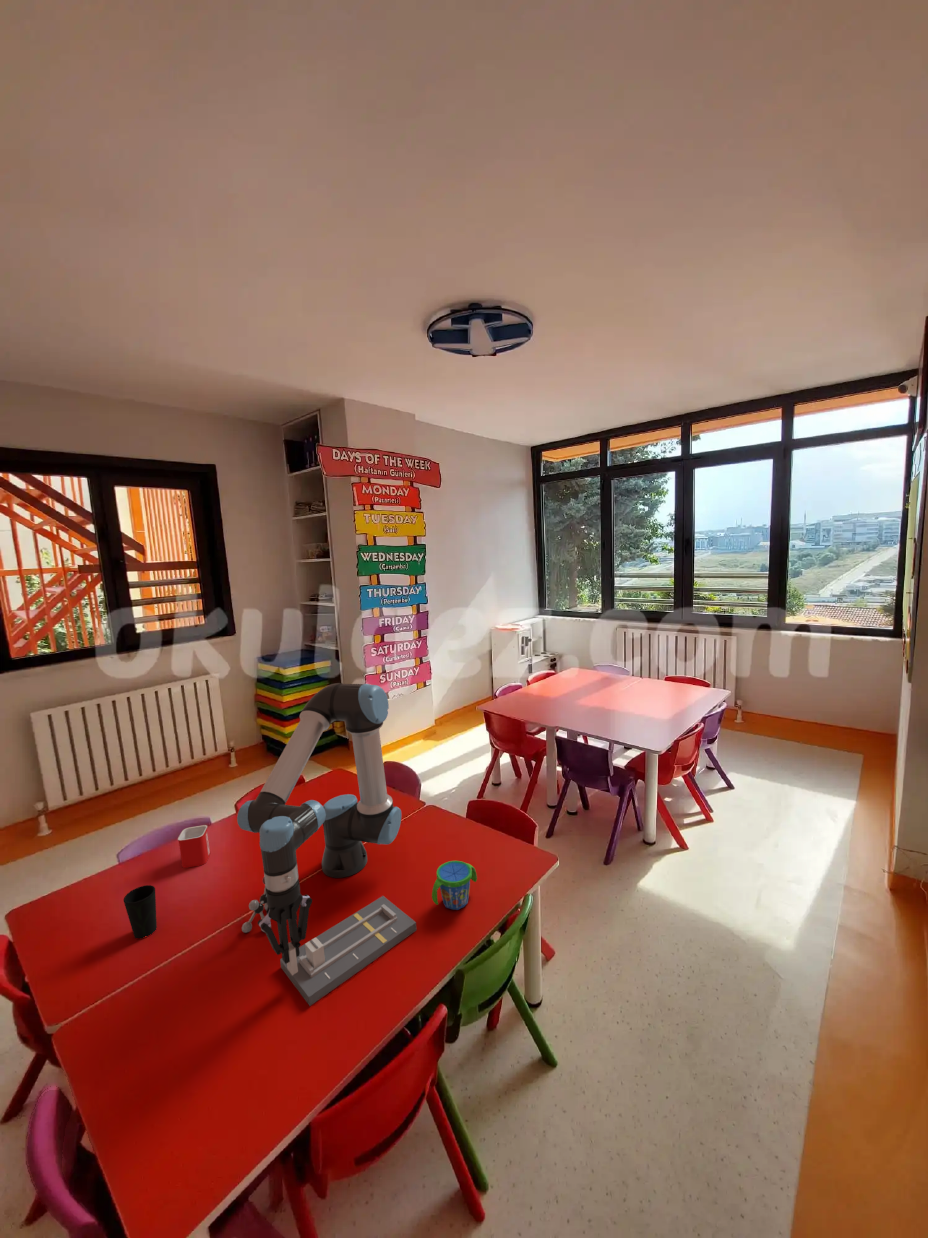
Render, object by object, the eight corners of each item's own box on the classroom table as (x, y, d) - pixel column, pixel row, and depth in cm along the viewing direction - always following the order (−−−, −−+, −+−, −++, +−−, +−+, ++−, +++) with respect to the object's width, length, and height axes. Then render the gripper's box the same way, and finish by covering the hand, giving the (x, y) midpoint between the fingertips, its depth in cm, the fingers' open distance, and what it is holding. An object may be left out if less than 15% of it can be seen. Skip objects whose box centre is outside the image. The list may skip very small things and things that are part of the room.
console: (280, 967, 129) (279, 953, 129) (383, 903, 151) (382, 891, 150) (309, 1006, 118) (308, 991, 117) (416, 930, 139) (415, 917, 139)
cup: (167, 924, 147) (161, 887, 145) (143, 944, 140) (136, 905, 138) (147, 919, 149) (142, 883, 148) (123, 939, 142) (116, 900, 141)
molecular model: (240, 935, 141) (236, 901, 140) (259, 905, 153) (255, 873, 152) (269, 934, 141) (264, 900, 139) (285, 904, 153) (281, 872, 151)
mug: (206, 865, 175) (202, 836, 173) (180, 869, 173) (176, 841, 171) (214, 845, 186) (211, 819, 185) (190, 849, 185) (186, 823, 183)
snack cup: (467, 882, 158) (465, 852, 157) (487, 901, 149) (485, 869, 148) (424, 903, 150) (422, 872, 148) (442, 924, 141) (440, 891, 140)
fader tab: (306, 961, 128) (304, 943, 127) (317, 954, 130) (315, 936, 129) (314, 970, 125) (312, 952, 124) (325, 963, 127) (323, 945, 126)
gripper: (261, 904, 112) (273, 997, 116) (315, 876, 121) (324, 963, 125) (248, 889, 118) (260, 978, 121) (301, 863, 127) (310, 947, 130)
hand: (292, 970), depth 123 cm, fingers closed
